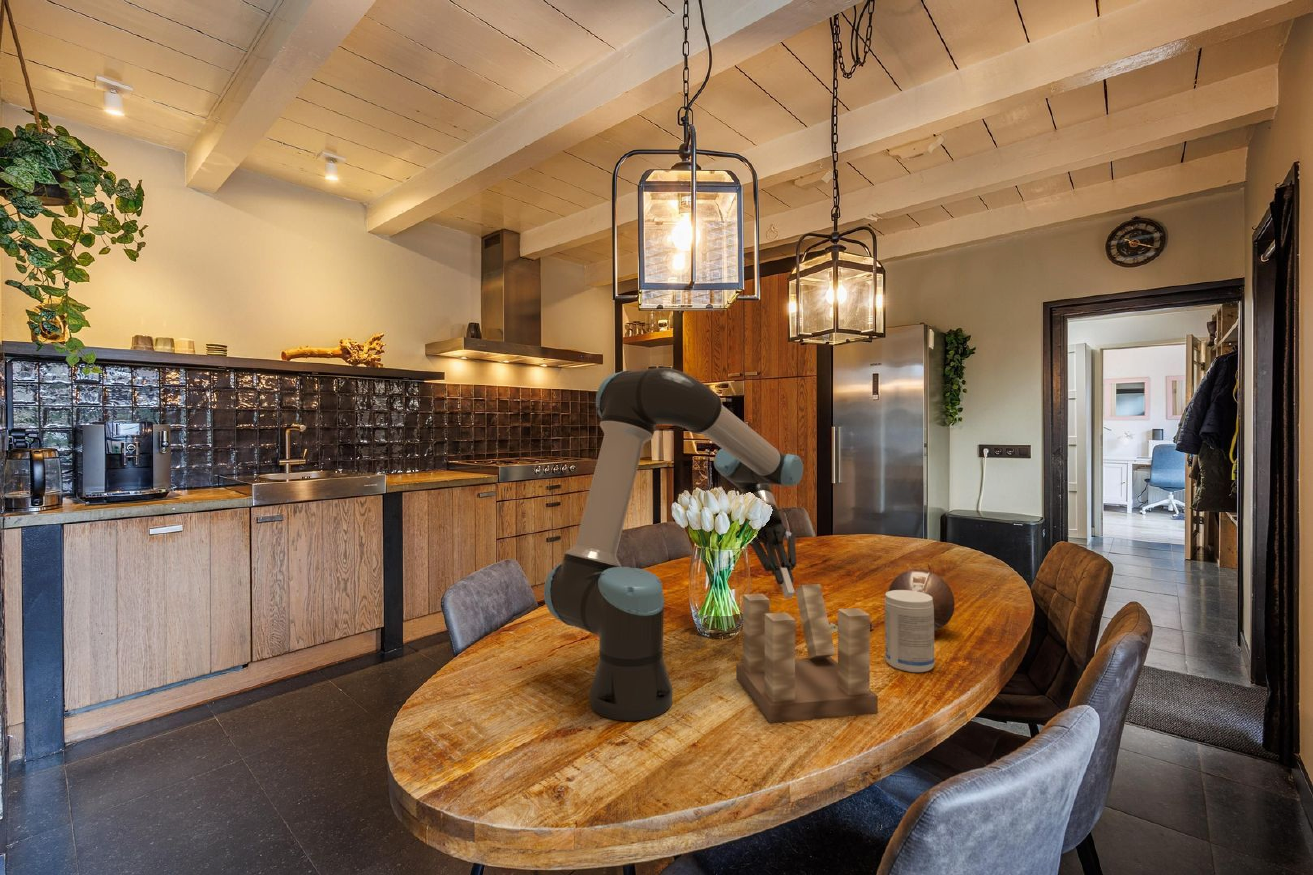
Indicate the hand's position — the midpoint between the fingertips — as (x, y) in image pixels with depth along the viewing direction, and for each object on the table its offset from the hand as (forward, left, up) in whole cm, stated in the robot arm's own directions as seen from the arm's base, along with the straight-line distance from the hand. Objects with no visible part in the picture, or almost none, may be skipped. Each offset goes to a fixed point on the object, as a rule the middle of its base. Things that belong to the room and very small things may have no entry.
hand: (789, 595), depth 135 cm
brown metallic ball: (+35, +3, -12) cm, 37 cm away
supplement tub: (+20, -15, -12) cm, 28 cm away
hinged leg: (-1, -18, -7) cm, 19 cm away
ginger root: (+18, +7, -12) cm, 23 cm away
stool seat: (-8, -24, -11) cm, 28 cm away
